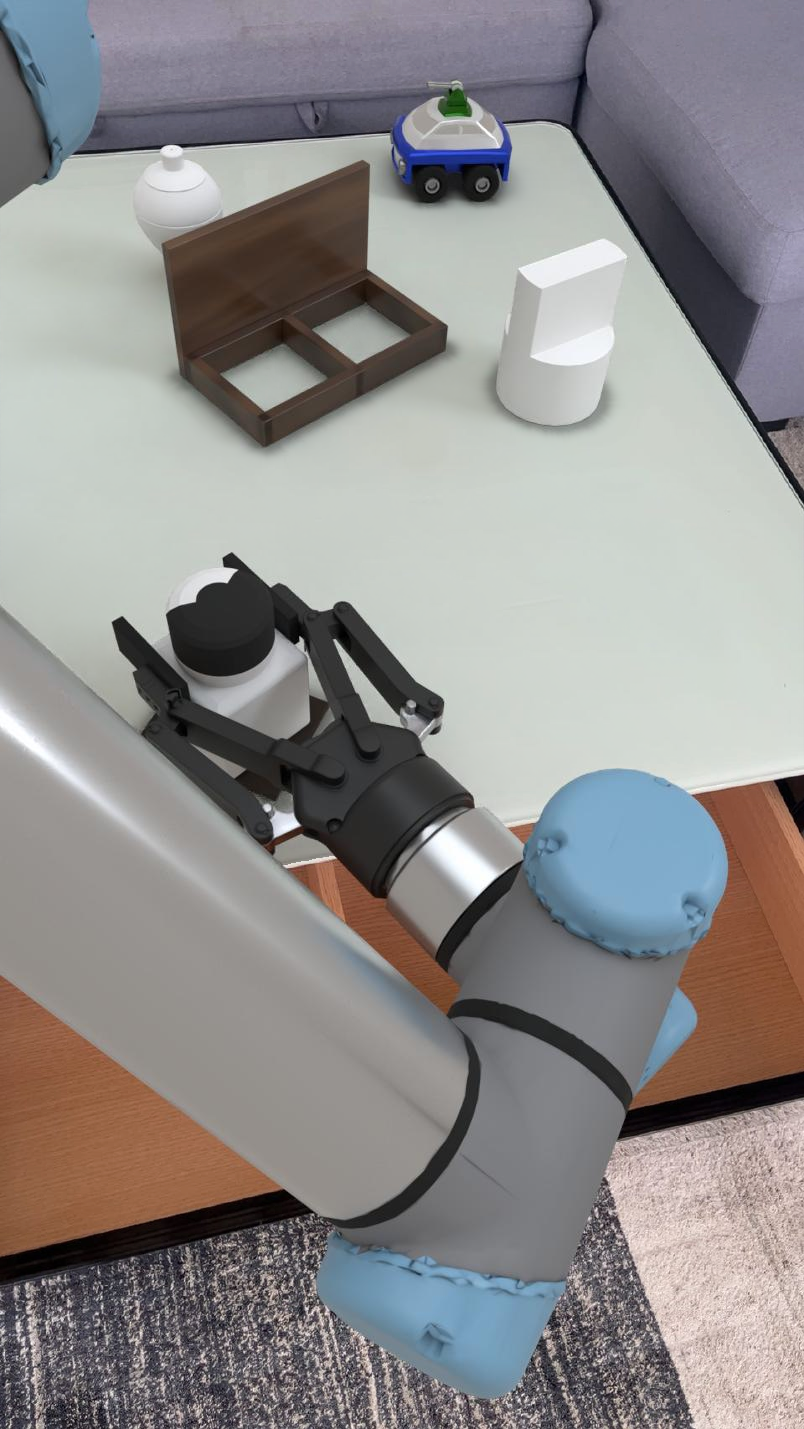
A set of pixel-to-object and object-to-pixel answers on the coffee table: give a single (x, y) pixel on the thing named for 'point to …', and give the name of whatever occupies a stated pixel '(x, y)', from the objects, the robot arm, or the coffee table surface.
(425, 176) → the toy car
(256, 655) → the medicine bottle
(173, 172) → the spinning top
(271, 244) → the rack
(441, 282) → the coffee table surface
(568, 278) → the base with upright slab
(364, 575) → the coffee table surface
